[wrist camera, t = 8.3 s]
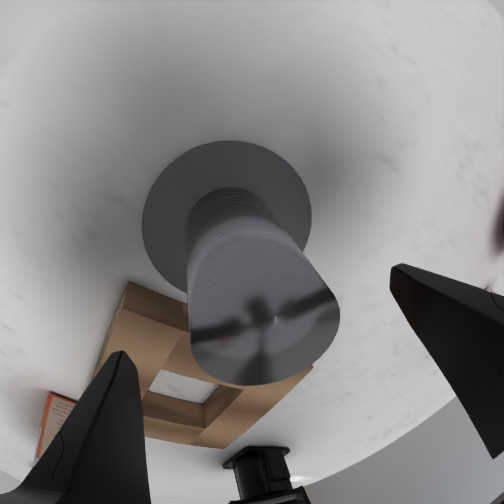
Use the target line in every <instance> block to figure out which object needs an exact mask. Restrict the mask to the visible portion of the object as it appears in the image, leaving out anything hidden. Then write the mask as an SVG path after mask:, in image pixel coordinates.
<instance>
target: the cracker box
mask: <svg viewBox="0 0 504 504" xmlns="http://www.w3.org/2000/svg"><path fill="white" fill-rule="evenodd" d="M75 405H76V402H73V401H70V400H68V399H65V398H62V397H60V396H57V395H55V394H52V393H50V394H49V396H48V400H47V403H46V407H45V410H44V414H43V419H42V423H41V427H40V432H39V436H38V441H37V447H36V452H35V457H34V463H33V467H34V466H35V464H36V463H37V462H38V460H39V459H40V457H41V456H42V455H43V453H44V452H45V451H46V449H47V448H48V446H49V445H50V443H51V442H52V440H53V438H54V437H55V435H56V434H57V432H58V431H60V428H61V426H62V425H63V423H64V421H65V420H66V418H67V417H68V415H69V414H70V412H71V411H72V409H73V408H74V406H75Z"/></svg>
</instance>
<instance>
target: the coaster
mask: <svg viewBox="0 0 504 504" xmlns="http://www.w3.org/2000/svg"><path fill="white" fill-rule="evenodd" d="M228 187H235V188H242V189H245V190H248V191H250V192H252V193H254V194H255V195H257V196H258V197H259V198H260V199H261V200H262V201H263V202H264V203H265V204H266V206H267V207H268V208H269V209H270V211H271V212H272V213H273V215H274V216H275V217H276V218H277V220H278V221H279V222H280V224H281V225H282V226H283V227H284V229H285V230H286V231H287V233H288V234H289V235H290V237H291V238H292V239H293V241H294V242H295V243H296V244H297V246H298V247H299V248H300V250H301V251H302V252H303V250H304V248H305V246H306V243H307V240H308V237H309V233H310V228H311V206H310V201H309V196H308V194H307V191H306V188H305V186H304V184H303V182H302V180H301V179H300V177H299V176H298V174H297V173H296V172H295V170H294V169H293V168H292V167H291V166H290V165H289V164H288V163H287V162H286V161H285V160H283V159H282V158H281V157H279V156H278V155H276V154H275V153H273V152H271V151H269V150H267V149H265V148H263V147H260V146H257V145H255V144H251V143H246V142H239V141H222V142H215V143H210V144H205V145H203V146H200V147H197V148H194V149H192V150H190V151H189V152H187V153H185V154H183V155H182V156H180V157H179V158H177V159H176V160H175V161H173V162H172V163H171V164H170V165H169V166H168V167H167V168H166V169H165V170H164V171H163V172H162V173H161V175H160V176H159V177H158V178H157V180H156V182H155V183H154V185H153V187H152V189H151V191H150V193H149V196H148V198H147V200H146V204H145V208H144V212H143V220H142V232H143V239H144V244H145V247H146V250H147V253H148V255H149V257H150V259H151V261H152V263H153V265H154V266H155V268H156V269H157V270H158V272H159V273H160V274H161V275H162V276H163V277H164V278H165V279H166V280H167V281H168V282H170V283H171V284H172V285H173V286H175V287H177V288H178V289H180V290H181V291H183V292H186V293H187V267H186V223H187V219H188V215H189V213H190V211H191V210H192V208H193V206H194V205H195V204H196V203H197V202H198V201H199V200H200V199H201V198H202V197H203V196H205V195H206V194H208V193H210V192H212V191H214V190H217V189H221V188H228Z"/></svg>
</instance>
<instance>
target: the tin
mask: <svg viewBox="0 0 504 504" xmlns="http://www.w3.org/2000/svg"><path fill="white" fill-rule="evenodd" d="M186 267H187V294H188V313H189V329H190V344H191V350H192V354H193V356H194V359H195V361H196V362H197V364H198V365H199V366H200V367H201V368H202V369H203V370H204V371H205V372H206V373H207V374H209V375H210V376H212V377H214V378H215V379H218V380H220V381H222V382H226V383H229V384H234V385H242V386H256V385H265V384H270V383H274V382H278V381H281V380H284V379H287V378H289V377H291V376H293V375H296V374H298V373H299V372H301V371H303V370H304V369H306V368H307V367H309V366H310V365H312V364H313V363H314V362H315V361H317V360H318V359H319V358H320V357H321V356H322V355H323V354H324V352H325V351H326V350H327V349H328V347H329V346H330V345H331V343H332V341H333V339H334V338H335V336H336V333H337V330H338V327H339V322H340V310H339V305H338V302H337V300H336V298H335V296H334V294H333V293H332V292H331V290H330V289H329V287H328V286H327V285H326V283H325V282H324V281H323V279H322V278H321V277H320V275H319V274H318V273H317V271H316V270H315V268H314V267H313V266H312V264H311V263H310V262H309V260H308V259H307V258H306V256H305V255H304V254H303V252H302V251H301V250H300V248H299V247H298V246H297V244H296V243H295V242H294V241H293V239H292V238H291V237H290V235H289V234H288V233H287V231H286V230H285V229H284V227H283V226H282V225H281V224H280V222H279V221H278V220H277V218H276V217H275V216H274V215H273V213H272V212H271V211H270V209H269V208H268V207H267V206H266V204H265V203H264V202H263V201H262V200H261V199H260V198H259V197H258V196H257V195H255V194H254V193H252V192H250V191H248V190H245V189H242V188H235V187H228V188H221V189H217V190H214V191H212V192H210V193H208V194H206V195H205V196H203V197H202V198H201V199H200V200H199V201H198V202H197V203H196V204H195V205H194V206H193V208H192V210H191V211H190V213H189V215H188V219H187V223H186Z"/></svg>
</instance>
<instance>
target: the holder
mask: <svg viewBox="0 0 504 504" xmlns="http://www.w3.org/2000/svg"><path fill="white" fill-rule="evenodd" d="M119 350H124V351H125V352H126V353H127V354H128V356H129V357H130V358H131V360H132V361H133V363H134V364H135V365H136V367H137V370H138V377H139V385H140V393H141V400H142V407H143V418H144V436H145V437H150V438H155V439H159V440H164V441H170V442H175V443H181V444H187V445H194V446H201V447H209V448H218V449H224V448H226V447H227V446H228V445H229V444H231V443H232V442H233V441H234V440H236V439H237V438H238V437H239V436H240V435H242V434H243V433H244V432H245V431H246V430H247V429H249V428H250V427H251V426H252V425H253V424H254V423H256V422H257V421H258V420H259V419H260V418H261V417H262V416H264V415H265V414H266V413H267V412H268V411H269V410H270V409H271V408H272V407H274V406H275V405H276V404H277V403H278V402H279V401H280V400H281V399H282V398H283V397H284V396H285V395H286V394H287V393H288V392H290V391H291V390H292V389H293V388H294V387H295V386H296V385H297V384H298V383H299V382H300V381H301V380H302V379H303V378H304V377H305V376H306V375H307V374H308V373H309V372H310V371H311V370H312V369H313V366H312V365H310V366H309V367H307V368H306V369H304V370H303V371H301V372H299V373H298V374H296V375H293V376H291V377H289V378H287V379H284V380H281V381H278V382H274V383H270V384H265V385H256V386H242V385H234V384H229V383H226V382H222V381H220V380H218V379H215V378H214V377H212V376H210V375H209V374H207V373H206V372H205V371H204V370H203V369H202V368H201V367H200V366H199V365H198V364H197V362H196V361H195V359H194V356H193V354H192V350H191V344H190V329H189V313H188V305H187V304H184V303H181V302H179V301H176V300H174V299H171V298H169V297H166V296H164V295H161V294H159V293H156V292H154V291H151V290H149V289H146V288H144V287H141V286H139V285H137V284H134V283H132V282H130V281H129V282H128V284H127V286H126V289H125V291H124V293H123V296H122V298H121V301H120V303H119V306H118V308H117V311H116V313H115V316H114V318H113V321H112V323H111V326H110V329H109V331H108V334H107V337H106V339H105V342H104V345H103V348H102V350H101V353H100V356H99V359H98V362H97V365H96V368H95V371H94V374H93V377H92V380H93V378H94V377H95V376H96V374H97V373H98V371H99V370H100V368H101V367H102V366H103V364H104V363H105V361H106V360H107V359H108V357H109V356H110V354H111V353H112V352H115V351H119ZM160 369H163V370H166V371H170V372H173V373H177V374H180V375H184V376H187V377H191V378H195V379H199V380H203V381H207V382H211V383H215V384H220V385H219V387H218V388H217V389H216V390H215V391H214V392H213V393H212V395H211V396H210V397H209V398H208V399H207V400H206V401H205V403H204V404H203V405H202V404H197V403H192V402H188V401H184V400H179V399H175V398H171V397H167V396H163V395H160V394H156V393H152V392H149V391H147V390H148V389H149V387H150V385H151V384H152V382H153V380H154V379H155V377H156V375H157V374H158V372H159V371H160ZM92 380H91V381H92Z"/></svg>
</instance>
